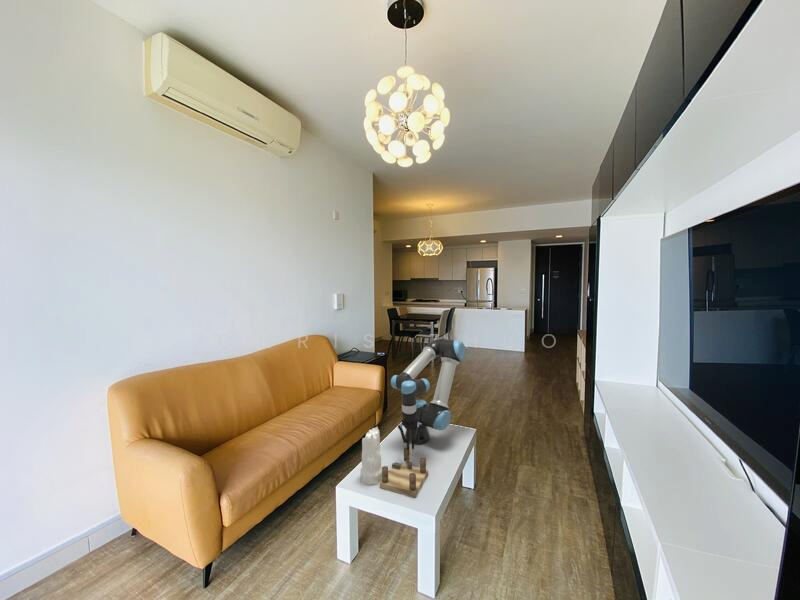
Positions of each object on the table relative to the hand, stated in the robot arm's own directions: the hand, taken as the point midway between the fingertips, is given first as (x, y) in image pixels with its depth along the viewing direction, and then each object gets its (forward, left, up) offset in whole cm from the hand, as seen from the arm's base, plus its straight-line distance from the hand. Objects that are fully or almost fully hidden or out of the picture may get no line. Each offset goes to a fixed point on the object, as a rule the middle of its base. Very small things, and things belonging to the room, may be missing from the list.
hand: (410, 454), depth 166 cm
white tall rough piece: (+18, -14, -6) cm, 23 cm away
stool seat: (+14, +2, -6) cm, 15 cm away
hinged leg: (+4, 0, -3) cm, 5 cm away
